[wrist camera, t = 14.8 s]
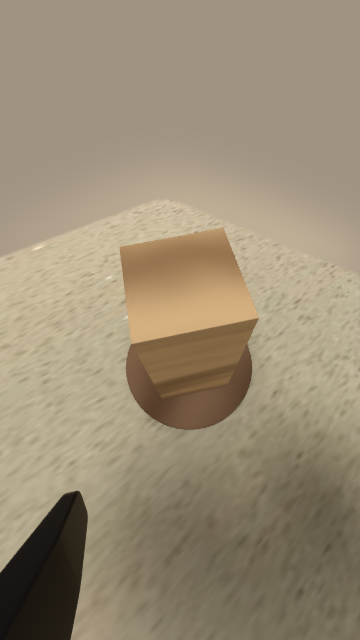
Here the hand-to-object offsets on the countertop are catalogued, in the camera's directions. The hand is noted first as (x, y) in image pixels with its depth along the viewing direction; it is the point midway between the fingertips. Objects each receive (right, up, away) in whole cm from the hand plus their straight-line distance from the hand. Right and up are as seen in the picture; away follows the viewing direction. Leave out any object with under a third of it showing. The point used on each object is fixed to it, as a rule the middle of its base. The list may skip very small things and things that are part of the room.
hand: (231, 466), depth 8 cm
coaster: (-1, +1, +15) cm, 16 cm away
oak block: (-1, +1, +15) cm, 15 cm away
